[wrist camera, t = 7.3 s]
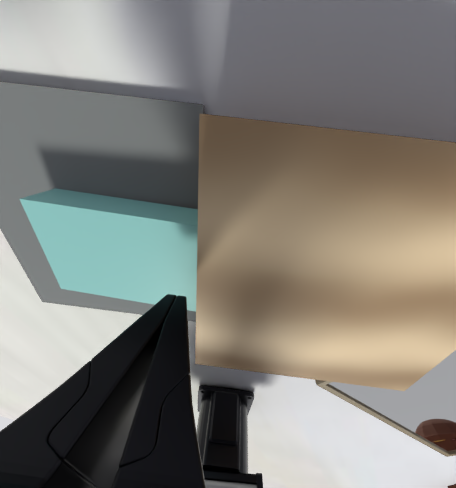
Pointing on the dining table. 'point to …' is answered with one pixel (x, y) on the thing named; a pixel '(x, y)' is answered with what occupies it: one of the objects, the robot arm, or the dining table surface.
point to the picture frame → (412, 405)
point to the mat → (90, 165)
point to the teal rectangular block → (117, 245)
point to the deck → (324, 252)
